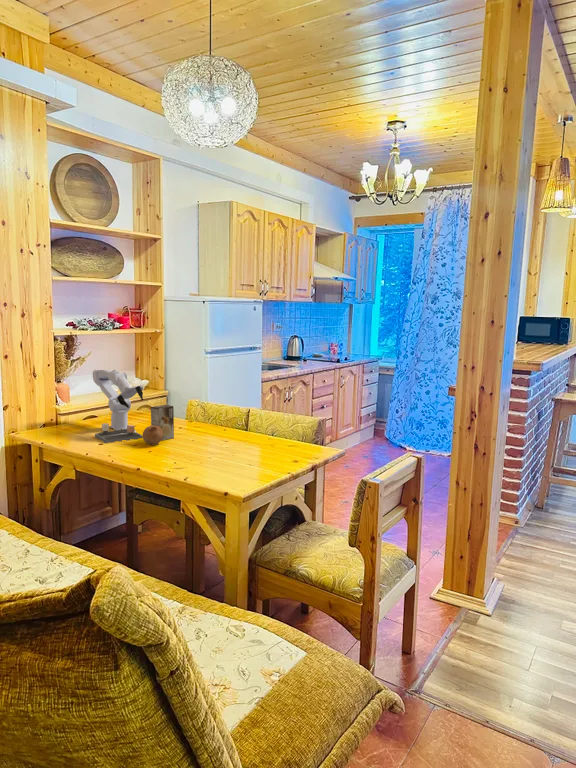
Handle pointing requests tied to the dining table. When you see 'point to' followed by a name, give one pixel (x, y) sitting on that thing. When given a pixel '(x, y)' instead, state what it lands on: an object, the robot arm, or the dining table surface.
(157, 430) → the onion
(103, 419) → the dining table surface
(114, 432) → the console
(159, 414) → the coffee box
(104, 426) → the block
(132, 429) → the fader
